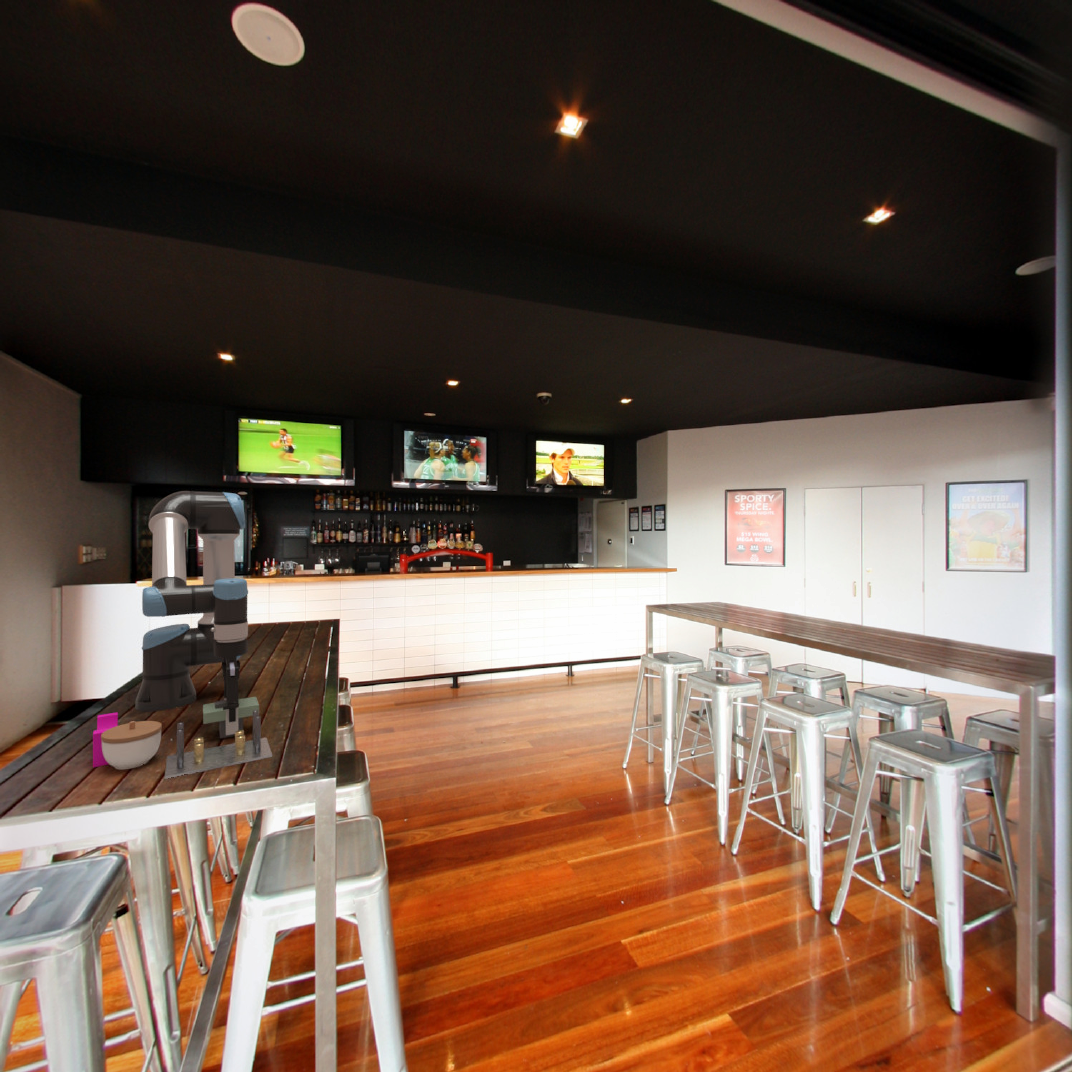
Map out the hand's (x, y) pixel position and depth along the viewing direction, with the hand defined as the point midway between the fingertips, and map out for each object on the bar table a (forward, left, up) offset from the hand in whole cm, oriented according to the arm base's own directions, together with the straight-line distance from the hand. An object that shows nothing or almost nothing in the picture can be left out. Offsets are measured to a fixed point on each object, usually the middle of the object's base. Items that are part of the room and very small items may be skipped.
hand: (231, 728), depth 134 cm
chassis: (+16, -3, -2) cm, 16 cm away
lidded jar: (+8, -19, -2) cm, 21 cm away
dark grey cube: (0, 0, -2) cm, 2 cm away
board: (0, 0, +4) cm, 4 cm away
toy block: (-1, -24, -2) cm, 24 cm away
